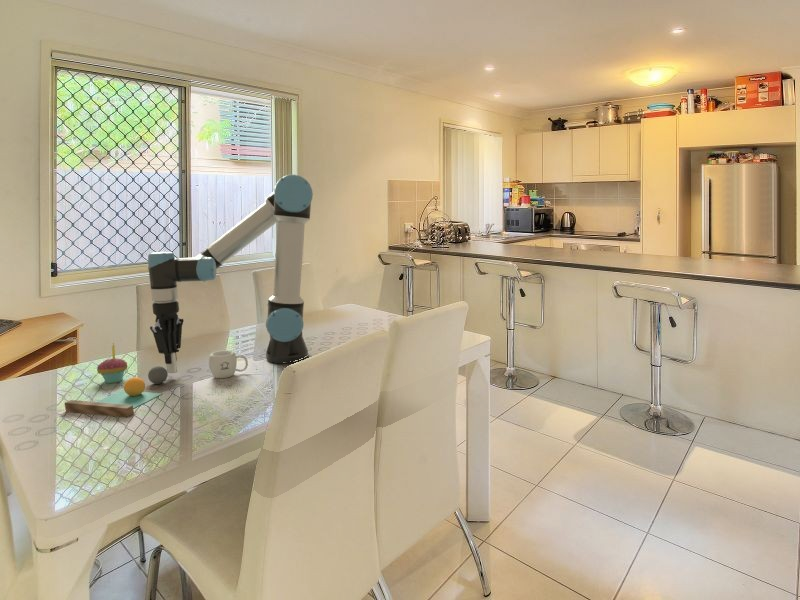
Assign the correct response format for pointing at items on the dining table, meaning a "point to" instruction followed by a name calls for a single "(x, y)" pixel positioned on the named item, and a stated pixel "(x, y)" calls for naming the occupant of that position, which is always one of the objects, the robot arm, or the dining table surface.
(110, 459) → the dining table surface
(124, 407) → the wall
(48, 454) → the dining table surface
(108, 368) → the cupcake
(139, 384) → the orange ball
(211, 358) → the mug
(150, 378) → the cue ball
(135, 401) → the teal mark
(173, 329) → the robot arm
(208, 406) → the dining table surface
